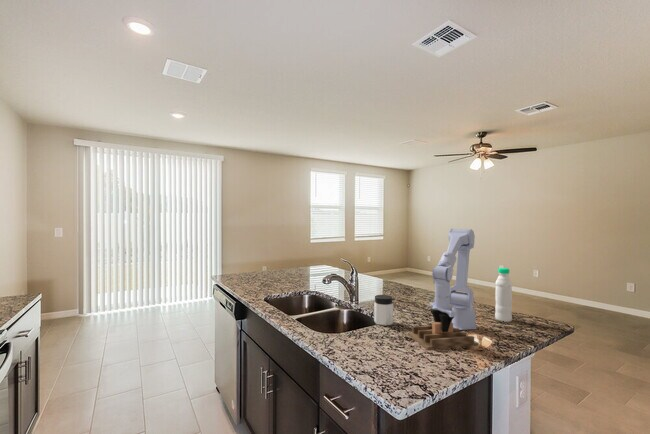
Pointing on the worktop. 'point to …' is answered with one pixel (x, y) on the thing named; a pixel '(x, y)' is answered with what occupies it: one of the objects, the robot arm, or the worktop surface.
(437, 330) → the tile
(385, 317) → the jar
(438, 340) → the rack
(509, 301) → the water bottle
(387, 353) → the worktop surface
